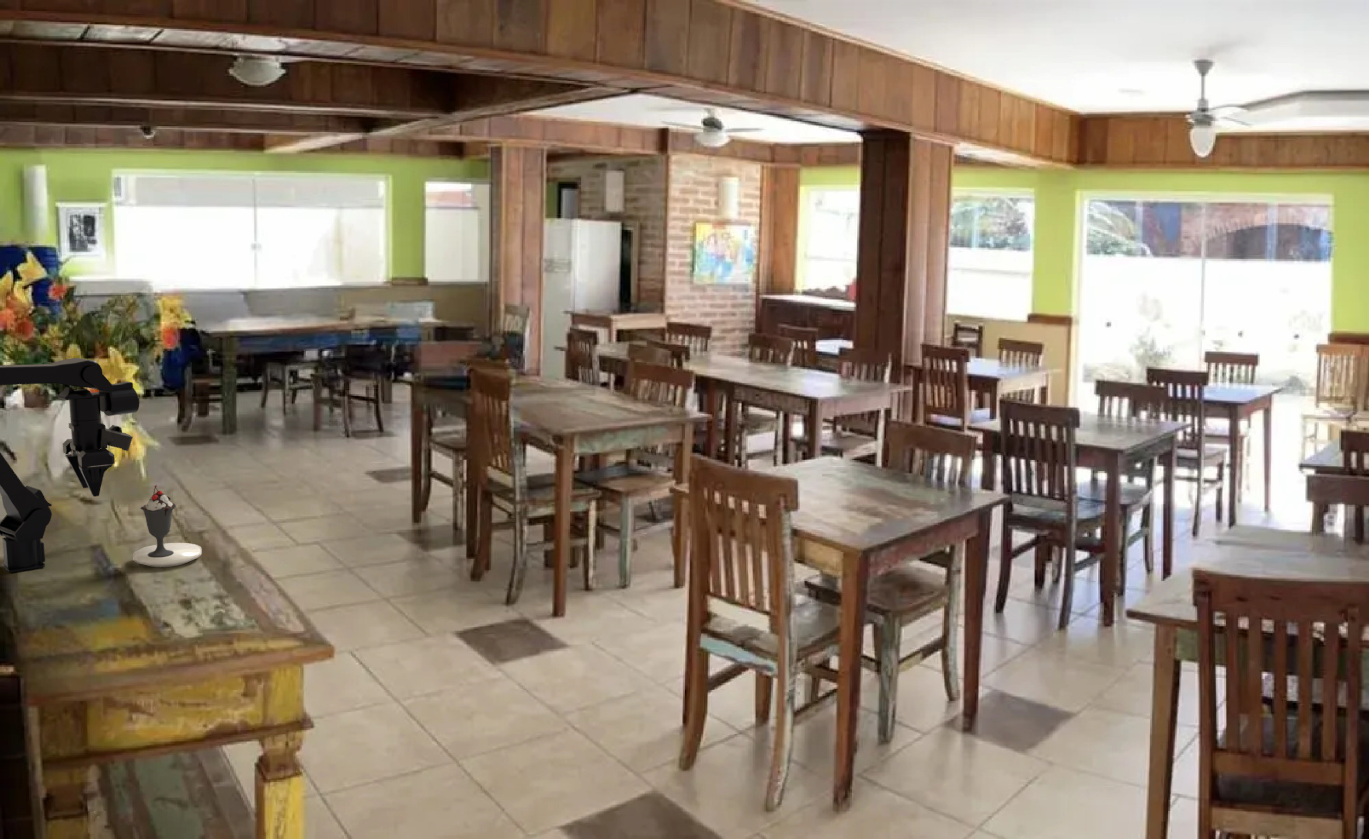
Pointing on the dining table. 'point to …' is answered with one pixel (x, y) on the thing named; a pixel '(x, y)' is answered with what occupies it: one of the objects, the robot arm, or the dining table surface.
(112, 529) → the dining table surface
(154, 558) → the stand
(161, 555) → the sundae
